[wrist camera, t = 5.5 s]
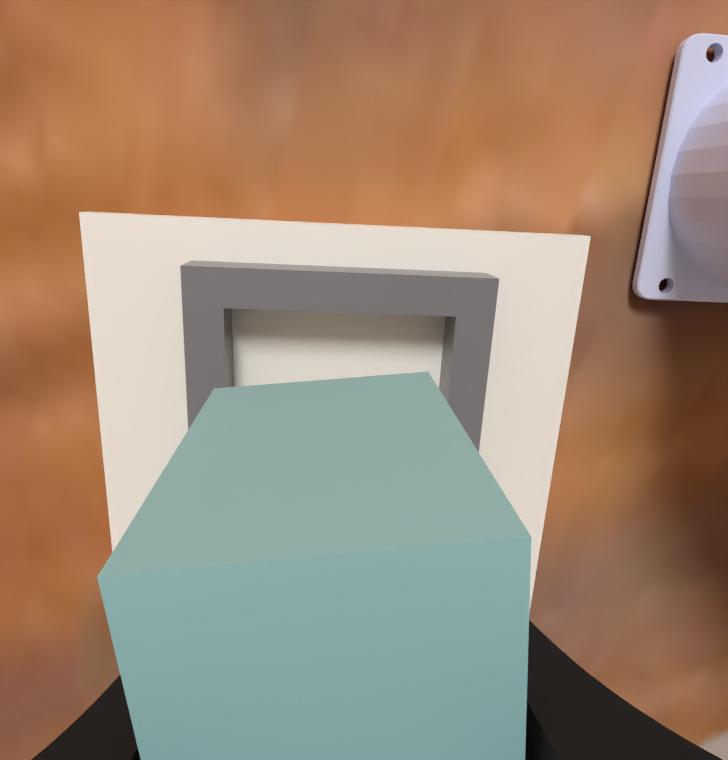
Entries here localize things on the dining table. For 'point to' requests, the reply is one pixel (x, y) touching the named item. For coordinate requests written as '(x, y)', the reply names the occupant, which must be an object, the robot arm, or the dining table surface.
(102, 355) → the socket board
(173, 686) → the teal block
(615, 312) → the dining table surface
